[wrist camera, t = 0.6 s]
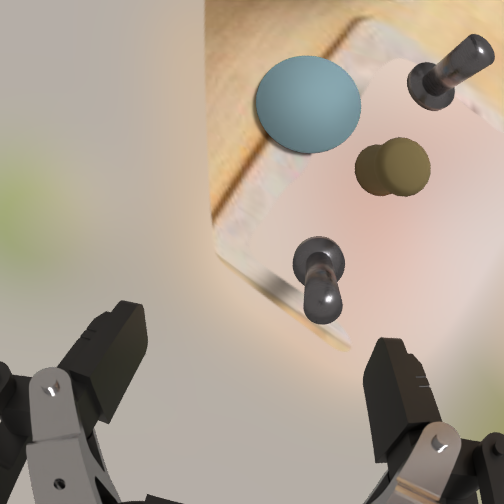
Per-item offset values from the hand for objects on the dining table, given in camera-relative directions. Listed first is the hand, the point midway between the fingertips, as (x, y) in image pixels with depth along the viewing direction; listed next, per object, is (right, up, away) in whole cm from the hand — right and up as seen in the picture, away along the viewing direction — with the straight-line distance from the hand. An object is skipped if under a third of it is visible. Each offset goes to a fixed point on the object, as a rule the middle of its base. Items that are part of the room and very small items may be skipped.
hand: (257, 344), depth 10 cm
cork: (+14, +12, +23) cm, 30 cm away
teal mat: (+6, +20, +23) cm, 31 cm away
